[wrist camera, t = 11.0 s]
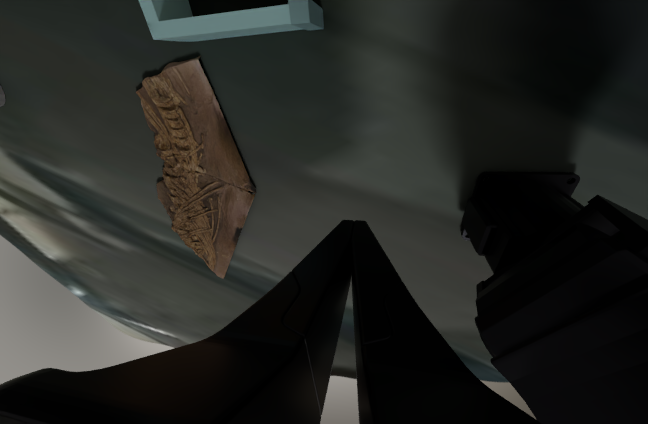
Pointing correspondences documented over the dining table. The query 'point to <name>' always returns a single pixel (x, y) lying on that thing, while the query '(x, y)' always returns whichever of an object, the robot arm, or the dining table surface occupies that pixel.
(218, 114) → the brown carved slab
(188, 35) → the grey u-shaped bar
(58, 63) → the dining table surface
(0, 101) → the beverage cup
